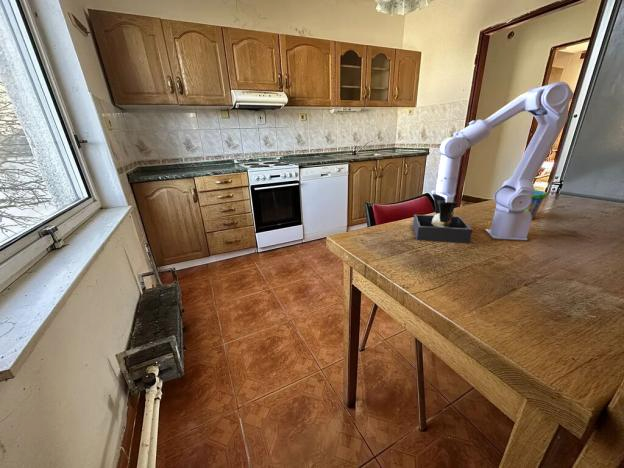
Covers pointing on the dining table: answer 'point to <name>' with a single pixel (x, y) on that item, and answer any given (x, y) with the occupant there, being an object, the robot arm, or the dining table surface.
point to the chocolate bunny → (437, 222)
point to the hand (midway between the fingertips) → (441, 218)
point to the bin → (441, 230)
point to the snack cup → (536, 202)
